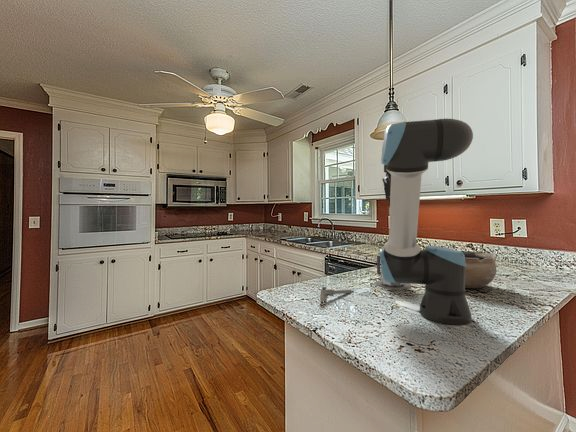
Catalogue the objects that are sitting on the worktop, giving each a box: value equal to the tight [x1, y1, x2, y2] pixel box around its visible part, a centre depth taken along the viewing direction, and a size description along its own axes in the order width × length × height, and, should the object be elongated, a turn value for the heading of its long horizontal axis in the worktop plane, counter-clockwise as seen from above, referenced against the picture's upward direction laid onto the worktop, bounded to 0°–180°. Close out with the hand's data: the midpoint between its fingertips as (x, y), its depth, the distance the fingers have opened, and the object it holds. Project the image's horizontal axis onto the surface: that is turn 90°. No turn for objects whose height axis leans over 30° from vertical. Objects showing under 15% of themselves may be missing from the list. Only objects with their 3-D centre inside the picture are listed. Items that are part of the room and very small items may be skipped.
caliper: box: [319, 286, 354, 303], centre depth 112 cm, size 20×1×6 cm, turn 131°
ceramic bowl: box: [460, 250, 498, 289], centre depth 125 cm, size 22×22×15 cm
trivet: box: [374, 279, 412, 291], centre depth 126 cm, size 16×16×1 cm
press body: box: [376, 252, 405, 287], centre depth 127 cm, size 13×10×15 cm
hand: (392, 214), depth 125 cm, fingers closed
